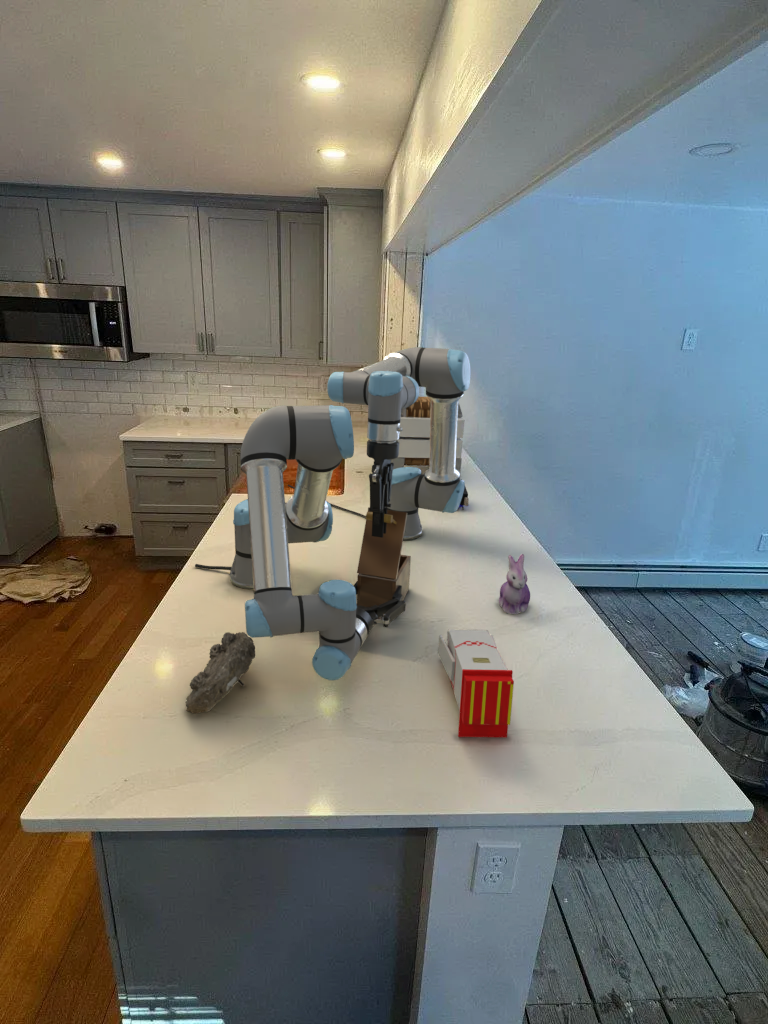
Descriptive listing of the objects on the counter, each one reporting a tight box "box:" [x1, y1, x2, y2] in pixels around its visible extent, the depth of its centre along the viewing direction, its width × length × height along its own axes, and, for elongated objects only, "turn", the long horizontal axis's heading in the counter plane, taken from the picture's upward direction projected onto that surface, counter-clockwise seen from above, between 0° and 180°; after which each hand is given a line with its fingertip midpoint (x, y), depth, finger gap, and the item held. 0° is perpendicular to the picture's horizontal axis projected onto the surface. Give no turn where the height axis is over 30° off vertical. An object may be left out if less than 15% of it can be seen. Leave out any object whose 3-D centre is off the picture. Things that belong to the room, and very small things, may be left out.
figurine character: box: [458, 486, 470, 511], centre depth 230 cm, size 7×8×15 cm
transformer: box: [391, 396, 465, 475], centre depth 268 cm, size 34×33×41 cm
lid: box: [356, 506, 407, 579], centre depth 140 cm, size 17×10×9 cm
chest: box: [356, 554, 412, 607], centre depth 152 cm, size 16×10×10 cm, turn 164°
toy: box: [437, 628, 515, 738], centre depth 117 cm, size 12×13×30 cm
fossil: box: [185, 631, 256, 715], centre depth 116 cm, size 22×10×15 cm
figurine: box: [498, 553, 531, 615], centre depth 151 cm, size 9×10×15 cm
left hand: (379, 586), depth 148 cm, fingers closed on chest, 10 cm apart
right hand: (379, 534), depth 139 cm, fingers closed on lid, 2 cm apart
